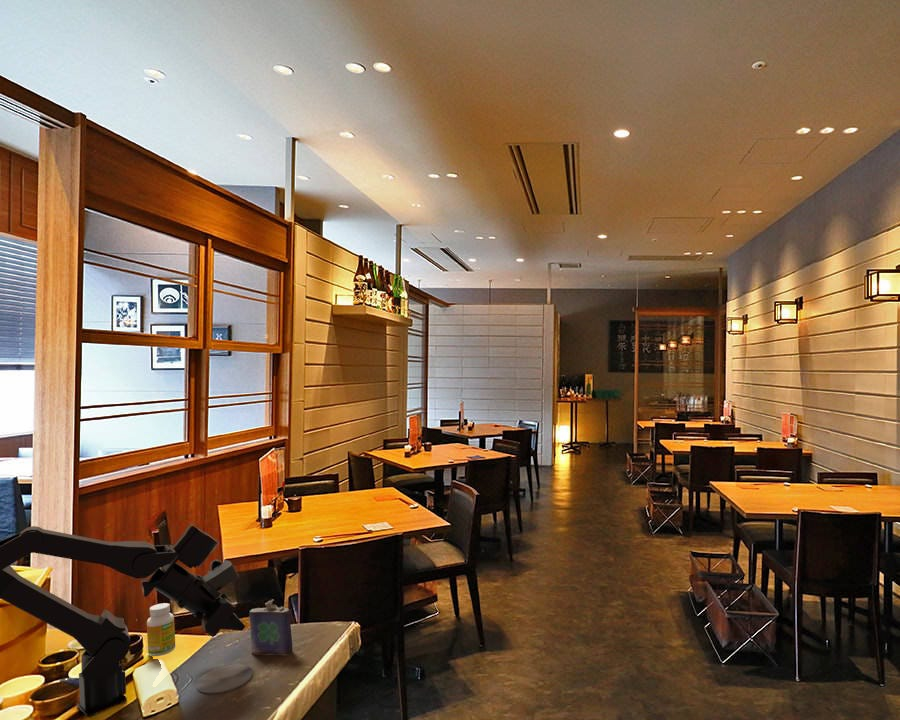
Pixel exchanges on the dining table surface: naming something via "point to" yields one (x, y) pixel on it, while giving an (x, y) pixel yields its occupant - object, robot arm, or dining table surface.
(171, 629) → the supplement bottle
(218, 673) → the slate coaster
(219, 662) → the dining table surface
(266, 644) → the flask
